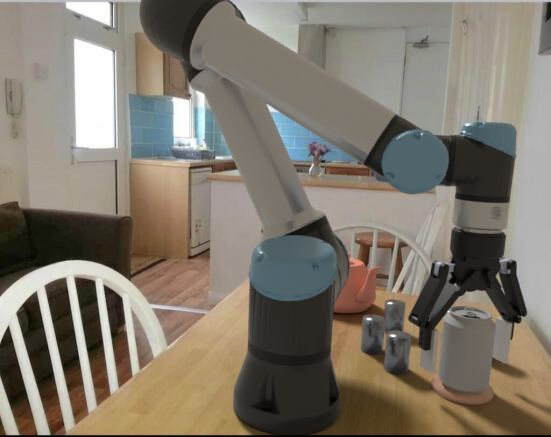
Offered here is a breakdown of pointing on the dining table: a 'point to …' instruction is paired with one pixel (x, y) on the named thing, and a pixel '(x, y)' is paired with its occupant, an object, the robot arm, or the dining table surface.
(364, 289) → the teapot
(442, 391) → the pink flat disc
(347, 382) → the dining table surface
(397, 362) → the chrome peg cluster
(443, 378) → the can
